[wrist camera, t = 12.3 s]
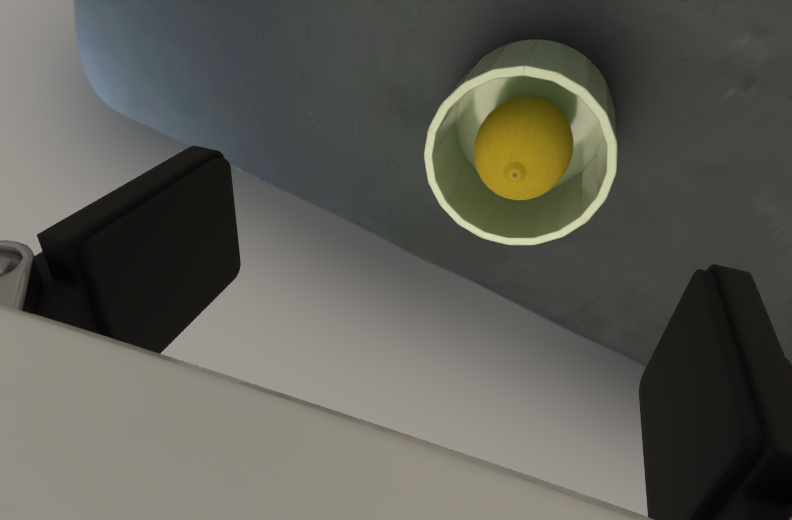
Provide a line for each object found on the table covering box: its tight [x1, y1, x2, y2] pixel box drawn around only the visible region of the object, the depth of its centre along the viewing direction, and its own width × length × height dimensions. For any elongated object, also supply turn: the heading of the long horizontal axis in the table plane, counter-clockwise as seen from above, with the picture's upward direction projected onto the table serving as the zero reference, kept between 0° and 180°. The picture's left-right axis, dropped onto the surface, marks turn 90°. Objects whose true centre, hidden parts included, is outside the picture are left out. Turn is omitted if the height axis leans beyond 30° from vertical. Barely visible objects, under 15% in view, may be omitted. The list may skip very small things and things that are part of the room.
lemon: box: [474, 96, 573, 200], centre depth 31 cm, size 6×6×8 cm
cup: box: [424, 39, 617, 245], centre depth 32 cm, size 10×10×7 cm
